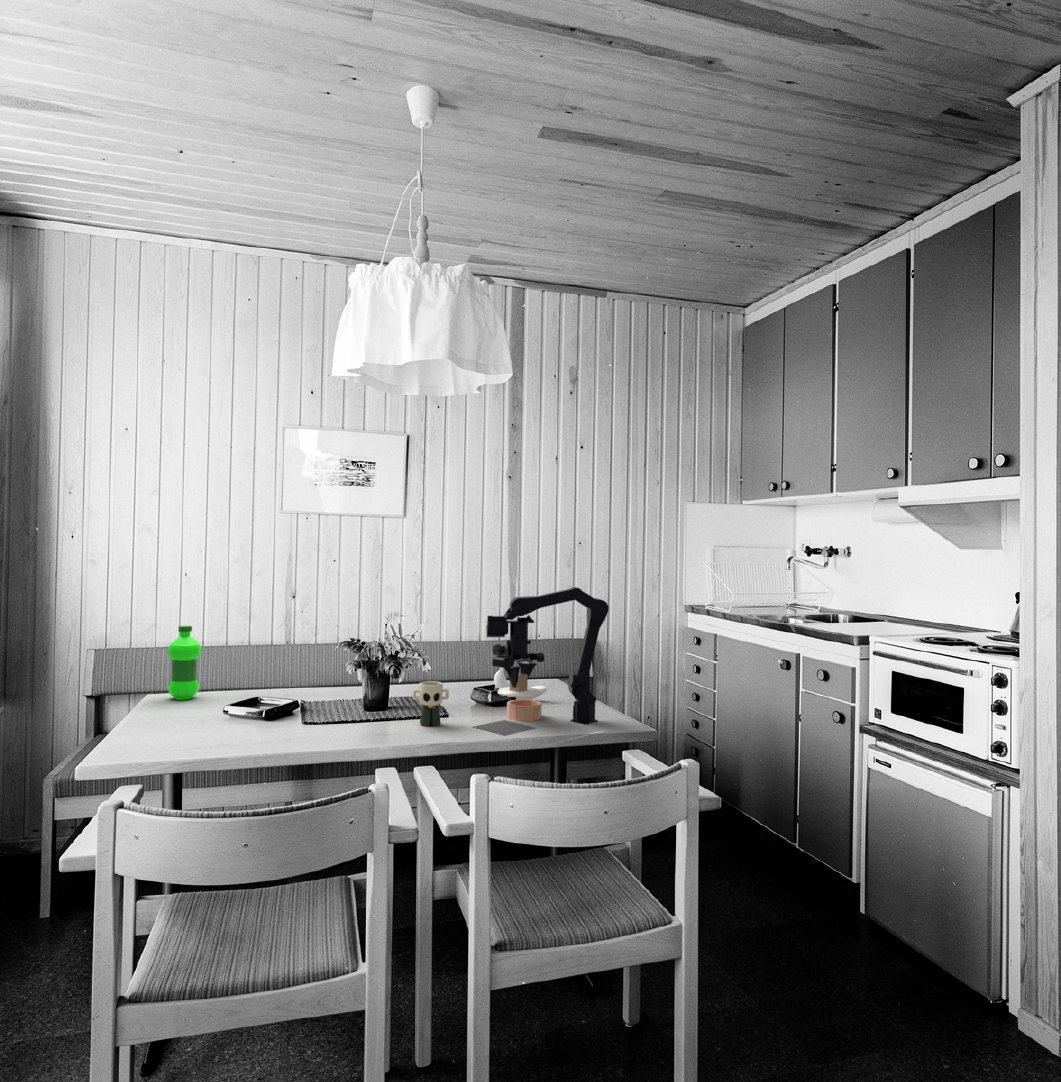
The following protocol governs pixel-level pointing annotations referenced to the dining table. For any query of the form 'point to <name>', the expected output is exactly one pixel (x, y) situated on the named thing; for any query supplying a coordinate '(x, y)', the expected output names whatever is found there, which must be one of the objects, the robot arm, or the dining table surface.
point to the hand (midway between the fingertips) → (518, 686)
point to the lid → (519, 688)
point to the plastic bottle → (184, 665)
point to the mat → (504, 727)
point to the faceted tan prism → (524, 710)
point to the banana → (502, 683)
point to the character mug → (430, 701)
